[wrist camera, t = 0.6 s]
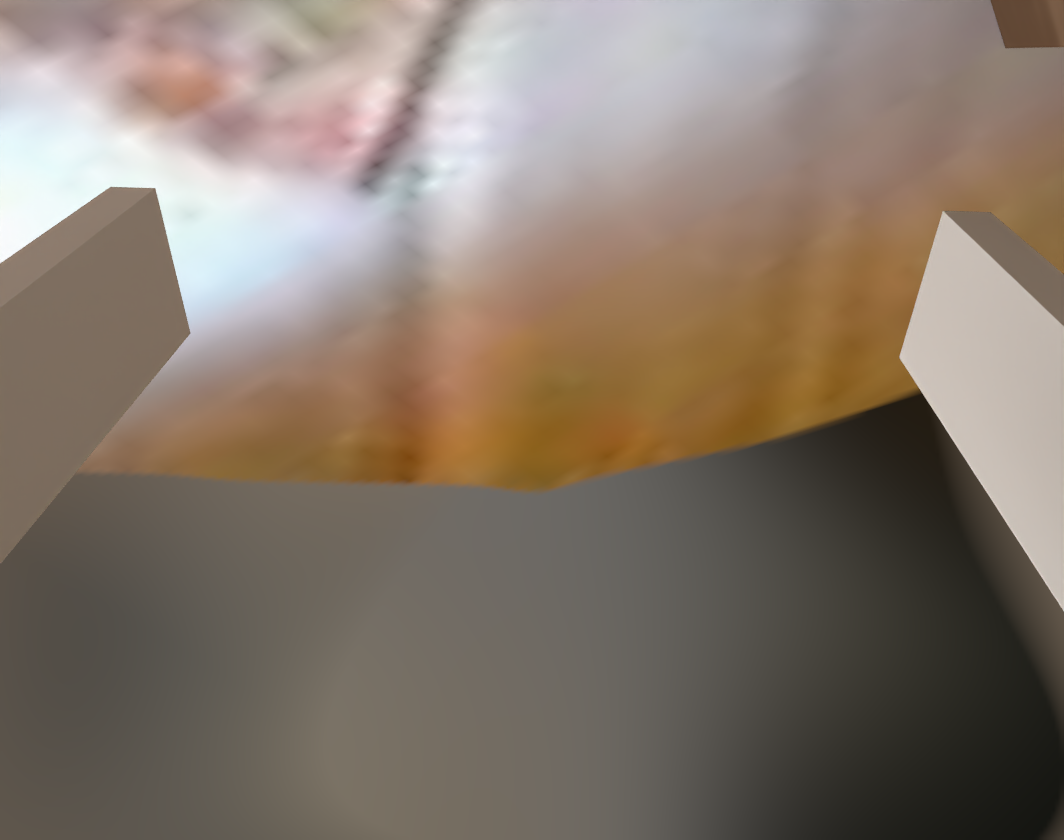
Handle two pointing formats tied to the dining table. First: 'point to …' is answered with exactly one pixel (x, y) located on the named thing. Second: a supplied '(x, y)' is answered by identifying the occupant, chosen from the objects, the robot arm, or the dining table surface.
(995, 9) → the walnut shelf
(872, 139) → the dining table surface
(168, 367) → the dining table surface
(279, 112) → the dining table surface
